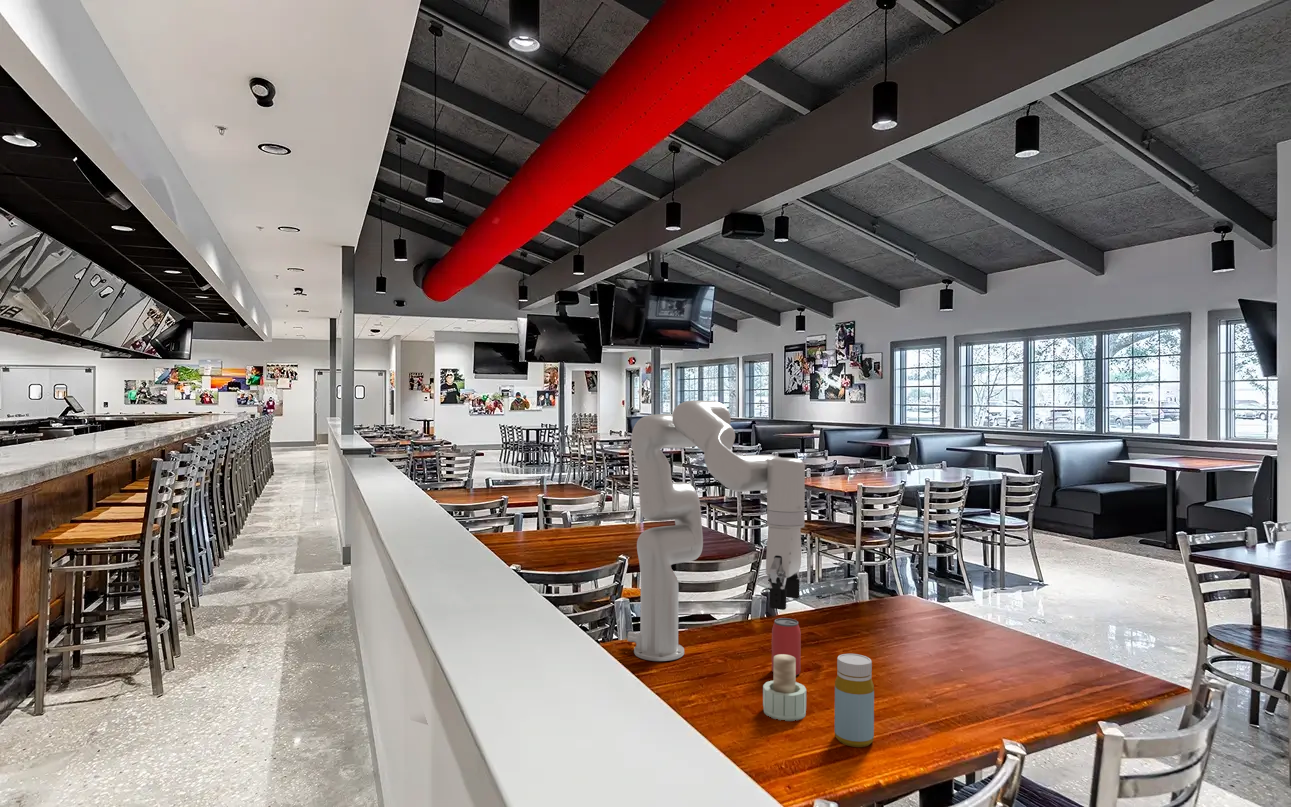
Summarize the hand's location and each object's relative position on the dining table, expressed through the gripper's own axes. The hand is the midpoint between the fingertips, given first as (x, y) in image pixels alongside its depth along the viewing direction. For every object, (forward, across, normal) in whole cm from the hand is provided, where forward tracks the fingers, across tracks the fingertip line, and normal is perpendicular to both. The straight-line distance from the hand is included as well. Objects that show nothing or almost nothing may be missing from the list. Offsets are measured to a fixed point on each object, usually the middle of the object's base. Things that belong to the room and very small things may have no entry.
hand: (784, 603), depth 148 cm
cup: (+22, 0, 0) cm, 22 cm away
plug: (+21, 0, 0) cm, 21 cm away
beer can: (+22, -22, -6) cm, 32 cm away
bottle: (+22, +6, +15) cm, 28 cm away
